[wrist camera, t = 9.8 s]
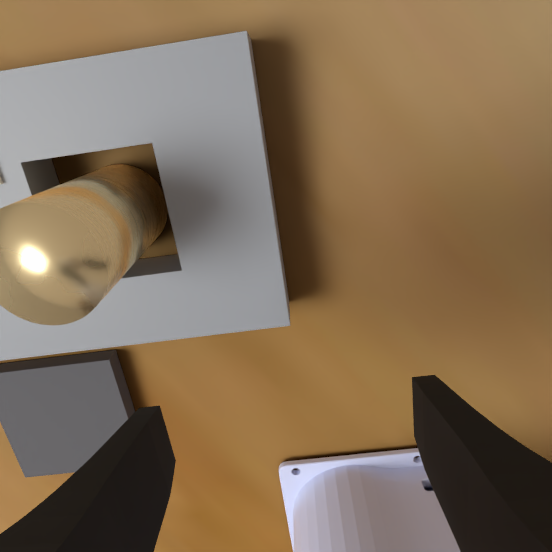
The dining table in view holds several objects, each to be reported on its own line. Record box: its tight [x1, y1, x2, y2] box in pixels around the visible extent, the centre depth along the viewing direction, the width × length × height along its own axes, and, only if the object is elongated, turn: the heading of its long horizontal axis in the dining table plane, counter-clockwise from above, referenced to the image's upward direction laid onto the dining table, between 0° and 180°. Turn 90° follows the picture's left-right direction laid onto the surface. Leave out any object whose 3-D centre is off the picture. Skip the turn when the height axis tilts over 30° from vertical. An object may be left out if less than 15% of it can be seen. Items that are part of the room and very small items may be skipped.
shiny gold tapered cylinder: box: [0, 164, 168, 325], centre depth 18 cm, size 4×4×8 cm
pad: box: [0, 350, 135, 477], centre depth 25 cm, size 7×7×1 cm
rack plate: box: [0, 31, 290, 361], centre depth 20 cm, size 20×12×3 cm, turn 98°
